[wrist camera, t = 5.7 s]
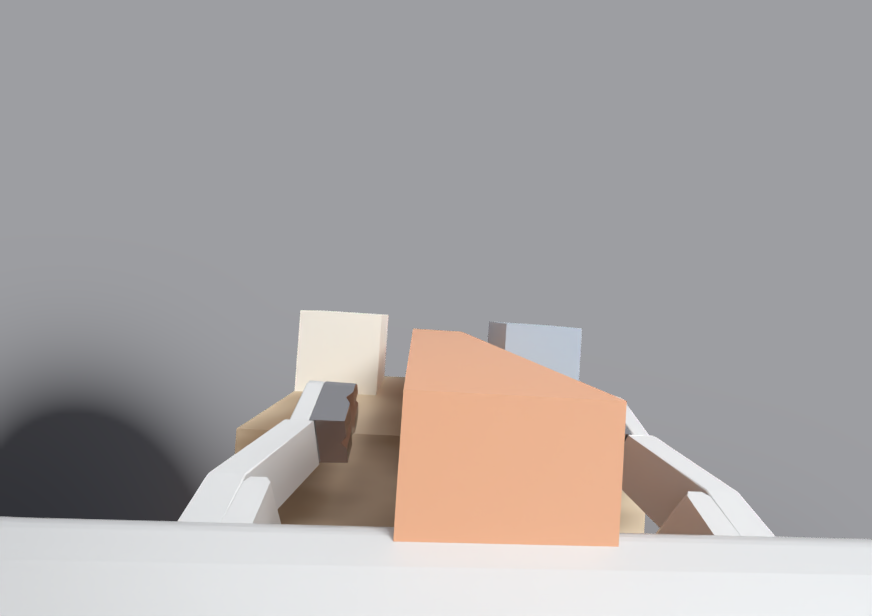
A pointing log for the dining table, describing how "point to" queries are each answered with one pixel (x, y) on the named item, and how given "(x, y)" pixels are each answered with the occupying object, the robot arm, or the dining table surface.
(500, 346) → the cube slate
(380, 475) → the oak stand
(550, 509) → the bar terracotta
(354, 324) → the cube cream
